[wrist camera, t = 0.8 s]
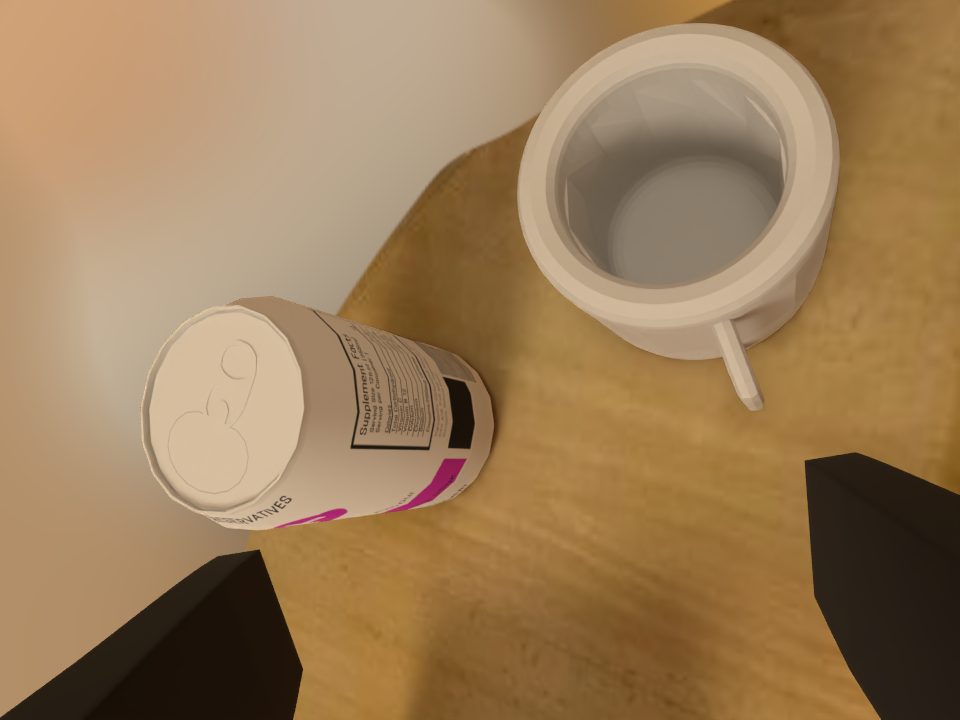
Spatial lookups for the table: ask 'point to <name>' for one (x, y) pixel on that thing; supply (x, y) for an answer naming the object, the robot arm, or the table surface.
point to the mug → (684, 191)
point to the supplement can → (308, 417)
